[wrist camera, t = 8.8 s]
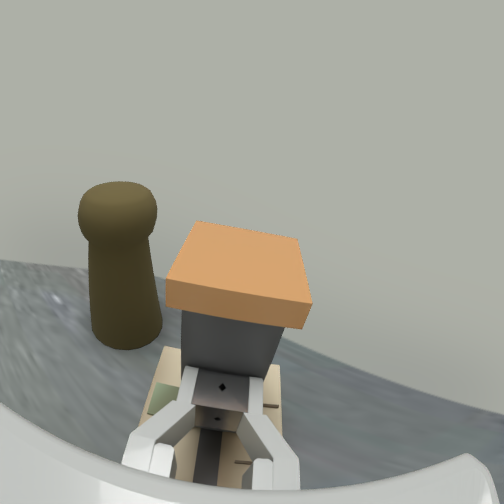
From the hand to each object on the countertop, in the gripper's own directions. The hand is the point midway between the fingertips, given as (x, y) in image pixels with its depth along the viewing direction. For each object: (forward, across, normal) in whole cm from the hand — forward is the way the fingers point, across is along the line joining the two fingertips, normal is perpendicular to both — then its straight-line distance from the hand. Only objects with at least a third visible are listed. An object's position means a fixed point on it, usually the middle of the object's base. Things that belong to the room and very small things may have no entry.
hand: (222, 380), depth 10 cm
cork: (+8, -8, -7) cm, 14 cm away
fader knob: (+2, 0, -5) cm, 6 cm away
